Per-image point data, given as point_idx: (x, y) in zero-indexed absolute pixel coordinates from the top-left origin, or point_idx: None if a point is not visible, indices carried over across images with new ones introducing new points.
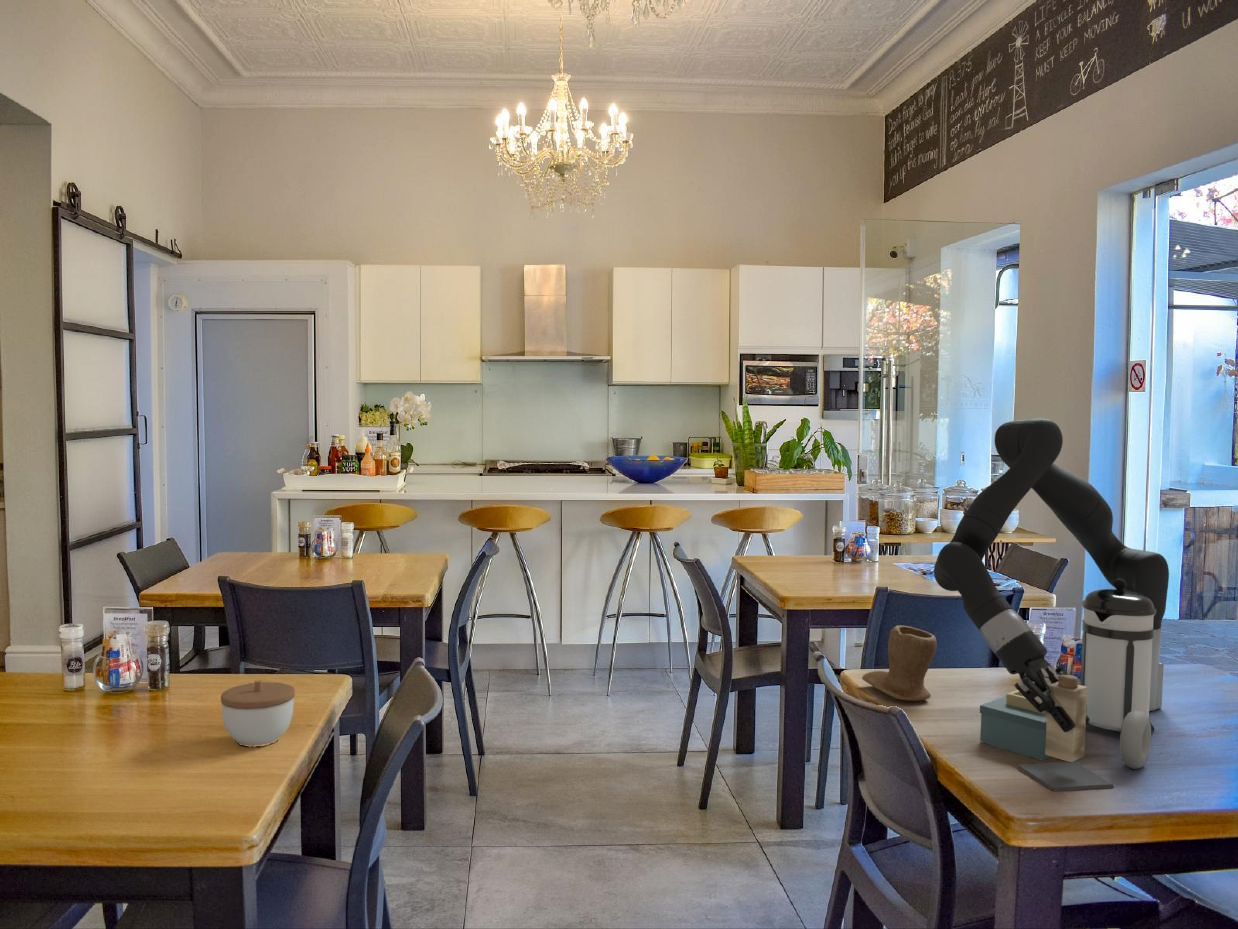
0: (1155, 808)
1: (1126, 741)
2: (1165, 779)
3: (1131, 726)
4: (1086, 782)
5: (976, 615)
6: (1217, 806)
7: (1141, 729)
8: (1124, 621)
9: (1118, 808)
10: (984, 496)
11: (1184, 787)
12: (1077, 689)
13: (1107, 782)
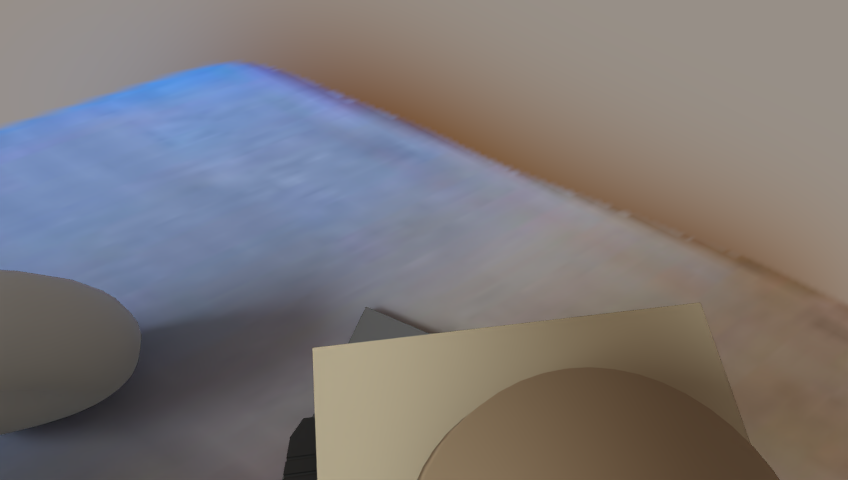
0: (418, 154)
1: (107, 329)
2: (113, 255)
3: (13, 303)
4: None
5: None
6: (241, 75)
7: None
8: None
9: (524, 209)
10: None
11: (148, 186)
12: (585, 339)
13: (371, 327)
